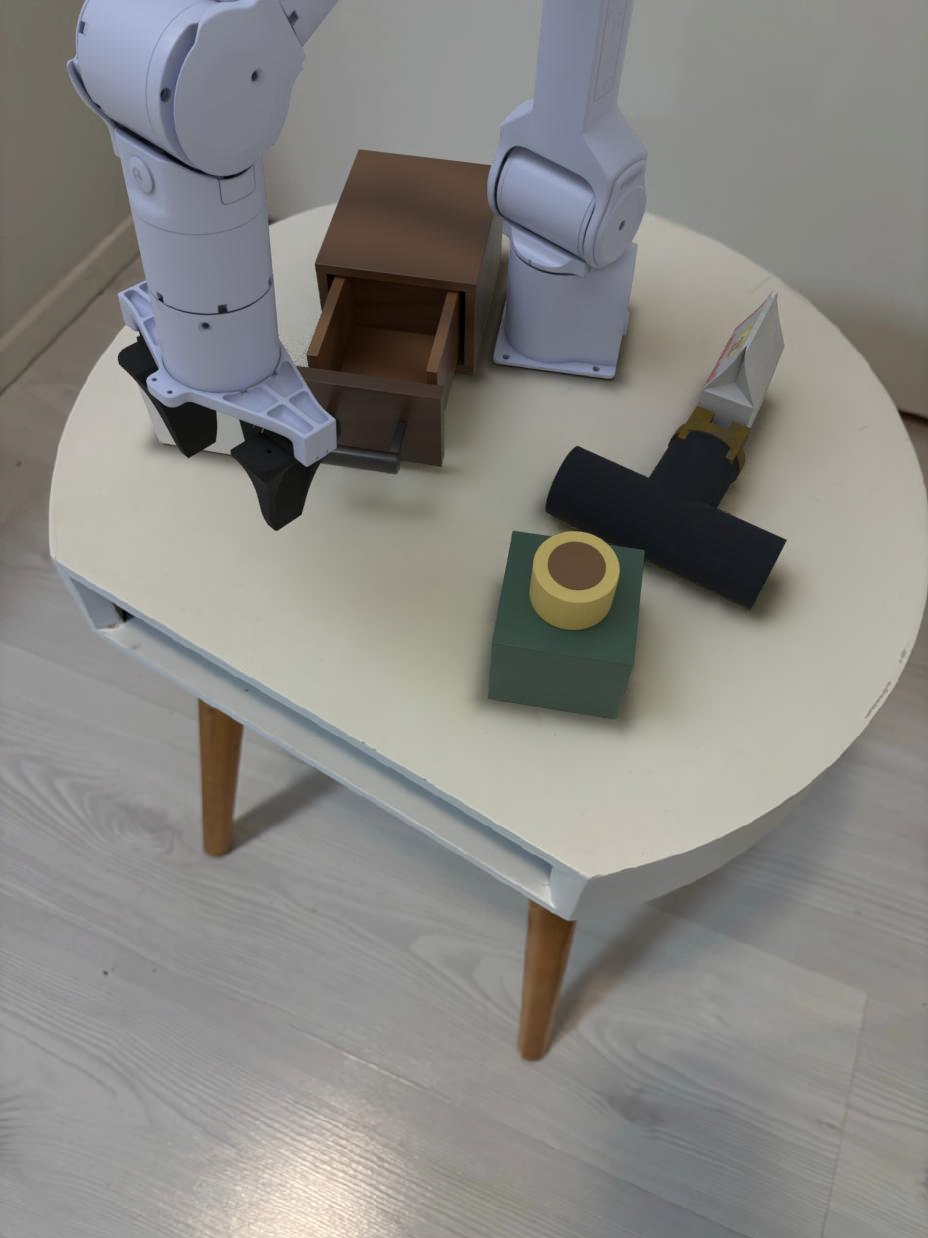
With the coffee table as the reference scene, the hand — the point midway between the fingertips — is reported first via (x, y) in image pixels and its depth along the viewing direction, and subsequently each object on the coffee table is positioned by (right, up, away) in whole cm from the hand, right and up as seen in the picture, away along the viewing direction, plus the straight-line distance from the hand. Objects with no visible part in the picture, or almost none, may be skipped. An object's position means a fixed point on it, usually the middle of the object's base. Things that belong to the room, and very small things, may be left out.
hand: (241, 482), depth 55 cm
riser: (+19, -10, +6) cm, 22 cm away
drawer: (+7, +7, +16) cm, 19 cm away
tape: (+19, -6, 0) cm, 20 cm away
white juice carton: (+32, +6, +17) cm, 37 cm away
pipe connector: (+28, -1, +12) cm, 30 cm away
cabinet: (+9, +18, +23) cm, 30 cm away
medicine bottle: (-5, +7, +17) cm, 19 cm away
